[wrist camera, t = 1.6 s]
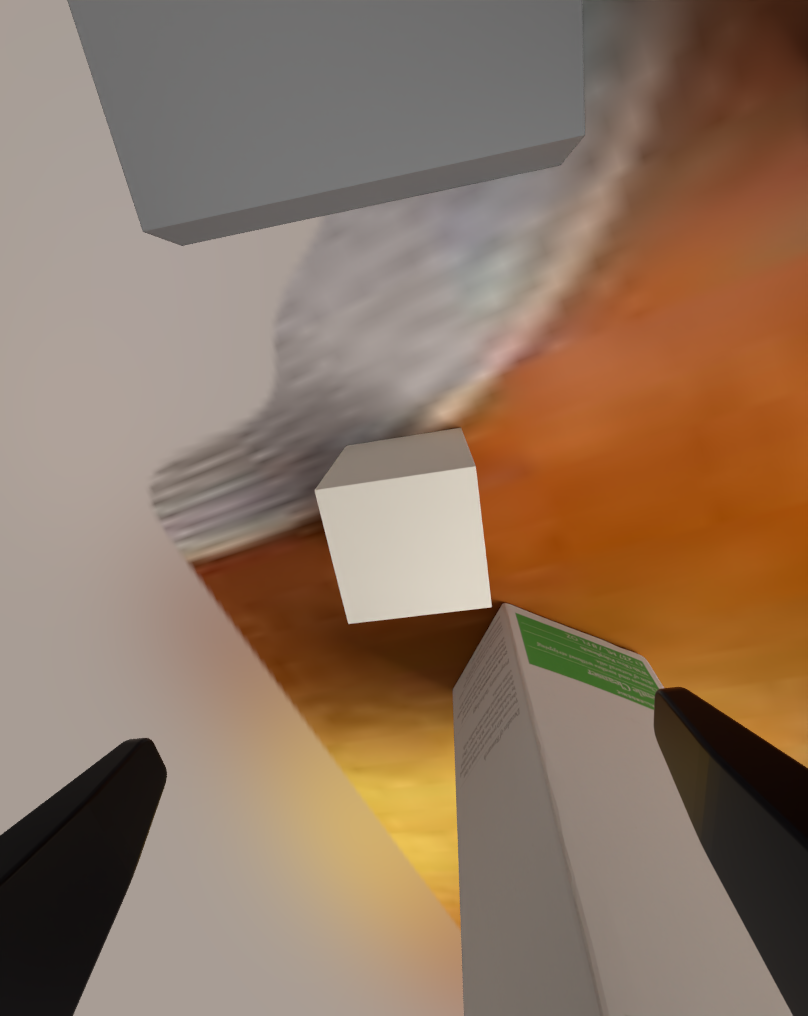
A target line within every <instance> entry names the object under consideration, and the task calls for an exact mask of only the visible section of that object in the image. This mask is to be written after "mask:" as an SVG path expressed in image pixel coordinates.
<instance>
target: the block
mask: <svg viewBox="0 0 808 1016" xmlns="http://www.w3.org/2000/svg"><path fill="white" fill-rule="evenodd" d="M315 494H316V498H317V502H318V506H319V510H320V514H321V518H322V522H323V526H324V530H325V534H326V538H327V542H328V546H329V550H330V554H331V558H332V562H333V566H334V570H335V574H336V577H337V581H338V585H339V589H340V593H341V597H342V601H343V605H344V609H345V613H346V617H347V621H348V624H352V623H361V622H369V621H378V620H387V619H395V618H404V617H412V616H421V615H430V614H438V613H447V612H455V611H464V610H473V609H481V608H490V607H492V604H491V595H490V587H489V578H488V569H487V561H486V552H485V543H484V535H483V526H482V517H481V509H480V500H479V491H478V483H477V474H476V466H475V463H474V461H473V458H472V456H471V453H470V450H469V448H468V445H467V442H466V440H465V437H464V434H463V432H462V429H461V428H455V429H449V430H443V431H436V432H430V433H424V434H417V435H411V436H405V437H398V438H392V439H386V440H379V441H373V442H367V443H360V444H354V445H348V446H346V447H345V448H344V449H343V451H342V452H341V454H340V455H339V456H338V458H337V459H336V461H335V462H334V463H333V465H332V466H331V468H330V469H329V470H328V472H327V473H326V475H325V476H324V478H323V479H322V480H321V482H320V483H319V485H318V486H317V487H316V489H315Z"/></svg>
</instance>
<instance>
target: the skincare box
mask: <svg viewBox="0 0 808 1016" xmlns="http://www.w3.org/2000/svg"><path fill="white" fill-rule="evenodd" d="M663 688H664V687H663V685H662V684H661V682H660V681H659V679H658V677H657V676H656V674H655V672H654V671H653V669H652V668H651V666H650V664H649V663H648V661H647V660H646V659H645V658H644V657H643V656H641V655H640V654H637V653H634V652H632V651H629V650H626V649H623V648H620V647H618V646H615V645H613V644H611V643H609V642H606V641H604V640H602V639H599V638H596V637H594V636H591V635H588V634H585V633H583V632H580V631H577V630H575V629H572V628H569V627H567V626H564V625H562V624H559V623H556V622H554V621H551V620H549V619H546V618H543V617H541V616H538V615H536V614H533V613H531V612H528V611H526V610H523V609H521V608H518V607H516V606H513V605H511V604H508V603H503V604H502V605H501V607H500V609H499V610H498V612H497V614H496V615H495V617H494V619H493V621H492V622H491V624H490V626H489V628H488V629H487V631H486V633H485V635H484V636H483V638H482V640H481V642H480V643H479V645H478V647H477V649H476V650H475V652H474V654H473V656H472V657H471V659H470V661H469V662H468V664H467V666H466V668H465V669H464V671H463V673H462V674H461V676H460V678H459V680H458V681H457V683H456V685H455V686H454V688H453V715H454V746H455V775H456V803H457V831H458V858H459V887H460V915H461V941H462V971H463V999H464V1000H463V1001H464V1016H793V1015H792V1013H791V1011H790V1009H789V1008H788V1006H787V1004H786V1002H785V1000H784V998H783V996H782V995H781V993H780V991H779V989H778V987H777V985H776V983H775V982H774V980H773V978H772V976H771V974H770V972H769V970H768V969H767V967H766V965H765V963H764V961H763V959H762V957H761V956H760V954H759V952H758V950H757V948H756V946H755V944H754V942H753V941H752V939H751V937H750V935H749V933H748V931H747V929H746V928H745V926H744V924H743V922H742V920H741V918H740V916H739V915H738V913H737V911H736V909H735V907H734V905H733V903H732V902H731V900H730V898H729V896H728V894H727V892H726V890H725V889H724V887H723V885H722V883H721V881H720V879H719V877H718V876H717V874H716V872H715V870H714V868H713V866H712V864H711V862H710V861H709V859H708V857H707V855H706V853H705V851H704V849H703V847H702V845H701V843H700V841H699V838H698V836H697V834H696V832H695V829H694V827H693V825H692V823H691V820H690V818H689V816H688V813H687V811H686V808H685V806H684V804H683V801H682V799H681V797H680V794H679V792H678V790H677V787H676V785H675V783H674V780H673V778H672V775H671V773H670V771H669V768H668V766H667V764H666V761H665V759H664V757H663V754H662V752H661V749H660V747H659V745H658V742H657V740H656V737H655V733H654V699H655V693H656V691H657V690H658V689H663Z"/></svg>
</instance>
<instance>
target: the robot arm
mask: <svg viewBox="0 0 808 1016" xmlns="http://www.w3.org/2000/svg"><path fill="white" fill-rule="evenodd" d="M654 733H655V737H656V740H657V742H658V745H659V747H660V749H661V752H662V754H663V757H664V759H665V761H666V764H667V766H668V768H669V771H670V773H671V775H672V778H673V780H674V783H675V785H676V787H677V790H678V792H679V794H680V797H681V799H682V801H683V804H684V806H685V808H686V811H687V813H688V816H689V818H690V820H691V823H692V825H693V827H694V829H695V832H696V834H697V836H698V838H699V841H700V843H701V845H702V847H703V849H704V851H705V853H706V855H707V857H708V859H709V861H710V862H711V864H712V866H713V868H714V870H715V872H716V874H717V876H718V877H719V879H720V881H721V883H722V885H723V887H724V889H725V890H726V892H727V894H728V896H729V898H730V900H731V902H732V903H733V905H734V907H735V909H736V911H737V913H738V915H739V916H740V918H741V920H742V922H743V924H744V926H745V928H746V929H747V931H748V933H749V935H750V937H751V939H752V941H753V942H754V944H755V946H756V948H757V950H758V952H759V954H760V956H761V957H762V959H763V961H764V963H765V965H766V967H767V969H768V970H769V972H770V974H771V976H772V978H773V980H774V982H775V983H776V985H777V987H778V989H779V991H780V993H781V995H782V996H783V998H784V1000H785V1002H786V1004H787V1006H788V1008H789V1009H790V1011H791V1013H792V1015H793V1016H808V768H806V767H805V766H803V765H802V764H800V763H799V762H797V761H796V760H794V759H793V758H791V757H790V756H788V755H787V754H785V753H784V752H782V751H781V750H779V749H777V748H776V747H774V746H773V745H771V744H770V743H768V742H767V741H765V740H764V739H762V738H761V737H759V736H758V735H756V734H755V733H753V732H751V731H750V730H748V729H747V728H745V727H744V726H742V725H741V724H739V723H738V722H736V721H735V720H733V719H732V718H730V717H729V716H727V715H725V714H724V713H722V712H721V711H719V710H718V709H716V708H715V707H713V706H712V705H710V704H709V703H707V702H706V701H704V700H703V699H701V698H700V697H698V696H696V695H695V694H693V693H692V692H690V691H689V690H687V689H685V688H682V687H673V688H663V689H658V690H657V691H656V693H655V699H654ZM166 778H167V771H166V767H165V765H164V763H163V761H162V759H161V757H160V755H159V753H158V751H157V749H156V747H155V745H154V743H153V741H152V740H150V739H149V738H139V739H130V740H127V741H125V742H123V743H121V744H120V745H119V746H118V747H116V748H115V749H114V750H112V751H111V752H110V753H108V754H107V755H106V756H104V757H103V758H102V759H100V760H99V761H98V762H96V763H95V764H94V765H92V766H91V767H90V768H89V769H87V770H86V771H85V772H83V773H82V774H81V775H79V776H78V777H77V778H75V779H74V780H73V781H71V782H70V783H69V784H67V785H66V786H65V787H63V788H62V789H61V790H60V791H58V792H57V793H56V794H54V795H53V796H52V797H51V798H49V799H48V800H46V801H45V802H44V803H42V804H41V805H40V806H38V807H37V808H36V809H35V810H33V811H32V812H31V813H29V814H28V815H27V816H25V817H24V818H23V819H21V820H20V821H19V822H17V823H16V824H15V825H13V826H12V827H11V828H10V829H8V830H7V831H6V832H4V833H3V834H2V835H0V1016H73V1014H74V1012H75V1009H76V1007H77V1005H78V1003H79V1000H80V998H81V996H82V993H83V991H84V989H85V987H86V984H87V982H88V980H89V977H90V975H91V973H92V971H93V968H94V966H95V963H96V961H97V959H98V957H99V954H100V952H101V950H102V948H103V945H104V943H105V941H106V938H107V936H108V934H109V932H110V929H111V927H112V925H113V922H114V920H115V918H116V915H117V913H118V911H119V908H120V906H121V904H122V902H123V899H124V897H125V895H126V892H127V890H128V888H129V885H130V883H131V880H132V878H133V875H134V872H135V870H136V867H137V864H138V862H139V859H140V856H141V853H142V850H143V847H144V844H145V841H146V838H147V836H148V833H149V830H150V827H151V824H152V821H153V818H154V815H155V812H156V809H157V807H158V804H159V800H160V798H161V795H162V792H163V789H164V786H165V783H166Z"/></svg>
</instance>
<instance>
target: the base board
mask: <svg viewBox="0 0 808 1016" xmlns="http://www.w3.org/2000/svg"><path fill="white" fill-rule="evenodd" d="M67 1H68V3H69V7H70V10H71V13H72V16H73V19H74V22H75V25H76V28H77V31H78V34H79V37H80V40H81V43H82V46H83V49H84V53H85V55H86V59H87V62H88V65H89V68H90V71H91V74H92V77H93V80H94V83H95V86H96V89H97V92H98V95H99V98H100V102H101V105H102V108H103V111H104V114H105V117H106V120H107V123H108V126H109V129H110V132H111V135H112V138H113V141H114V144H115V147H116V150H117V153H118V157H119V160H120V163H121V166H122V169H123V172H124V175H125V178H126V181H127V184H128V187H129V190H130V193H131V196H132V199H133V202H134V206H135V209H136V211H137V215H138V218H139V221H140V224H141V227H142V230H143V232H145V233H148V234H151V235H154V236H157V237H159V238H162V239H165V240H167V241H171V242H173V243H176V244H179V245H181V246H183V245H188V244H193V243H197V242H202V241H206V240H211V239H216V238H221V237H226V236H230V235H235V234H240V233H244V232H248V231H254V230H258V229H263V228H268V227H272V226H277V225H281V224H286V223H291V222H296V221H301V220H305V219H310V218H315V217H319V216H324V215H329V214H333V213H338V212H343V211H348V210H352V209H357V208H362V207H366V206H371V205H376V204H380V203H385V202H390V201H394V200H399V199H404V198H409V197H413V196H418V195H423V194H427V193H432V192H437V191H441V190H446V189H451V188H455V187H460V186H465V185H470V184H474V183H479V182H484V181H488V180H493V179H498V178H502V177H507V176H512V175H516V174H521V173H526V172H531V171H535V170H540V169H545V168H549V167H554V166H559V165H561V164H562V163H563V162H564V160H565V159H566V158H567V157H568V155H569V154H570V153H571V152H572V150H573V149H574V148H575V147H576V146H577V144H578V143H579V142H580V141H581V139H582V138H583V137H584V136H585V113H584V64H583V16H582V0H67Z"/></svg>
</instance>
